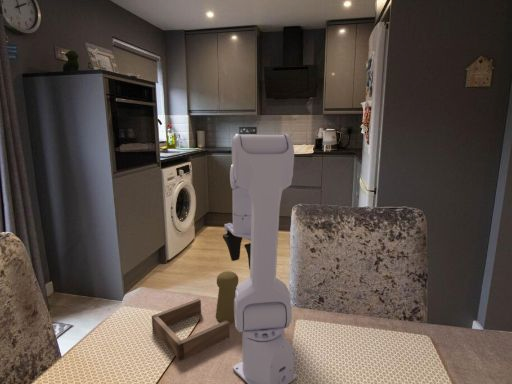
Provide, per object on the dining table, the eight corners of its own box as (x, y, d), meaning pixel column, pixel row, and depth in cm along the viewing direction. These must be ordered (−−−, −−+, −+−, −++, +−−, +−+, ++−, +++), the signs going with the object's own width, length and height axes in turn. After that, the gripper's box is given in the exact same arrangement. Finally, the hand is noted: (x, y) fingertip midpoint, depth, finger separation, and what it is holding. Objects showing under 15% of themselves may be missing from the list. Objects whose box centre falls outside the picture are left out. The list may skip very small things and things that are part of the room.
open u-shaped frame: (229, 336, 74) (229, 322, 73) (179, 360, 66) (178, 344, 65) (199, 311, 83) (198, 298, 83) (152, 329, 76) (151, 315, 75)
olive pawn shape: (242, 309, 84) (241, 268, 82) (238, 323, 78) (238, 280, 76) (218, 308, 85) (217, 267, 82) (213, 322, 79) (212, 278, 77)
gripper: (276, 216, 80) (275, 269, 83) (239, 205, 91) (239, 252, 94) (253, 222, 76) (252, 277, 78) (217, 209, 87) (218, 258, 89)
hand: (244, 264), depth 86 cm, fingers open, 7 cm apart
